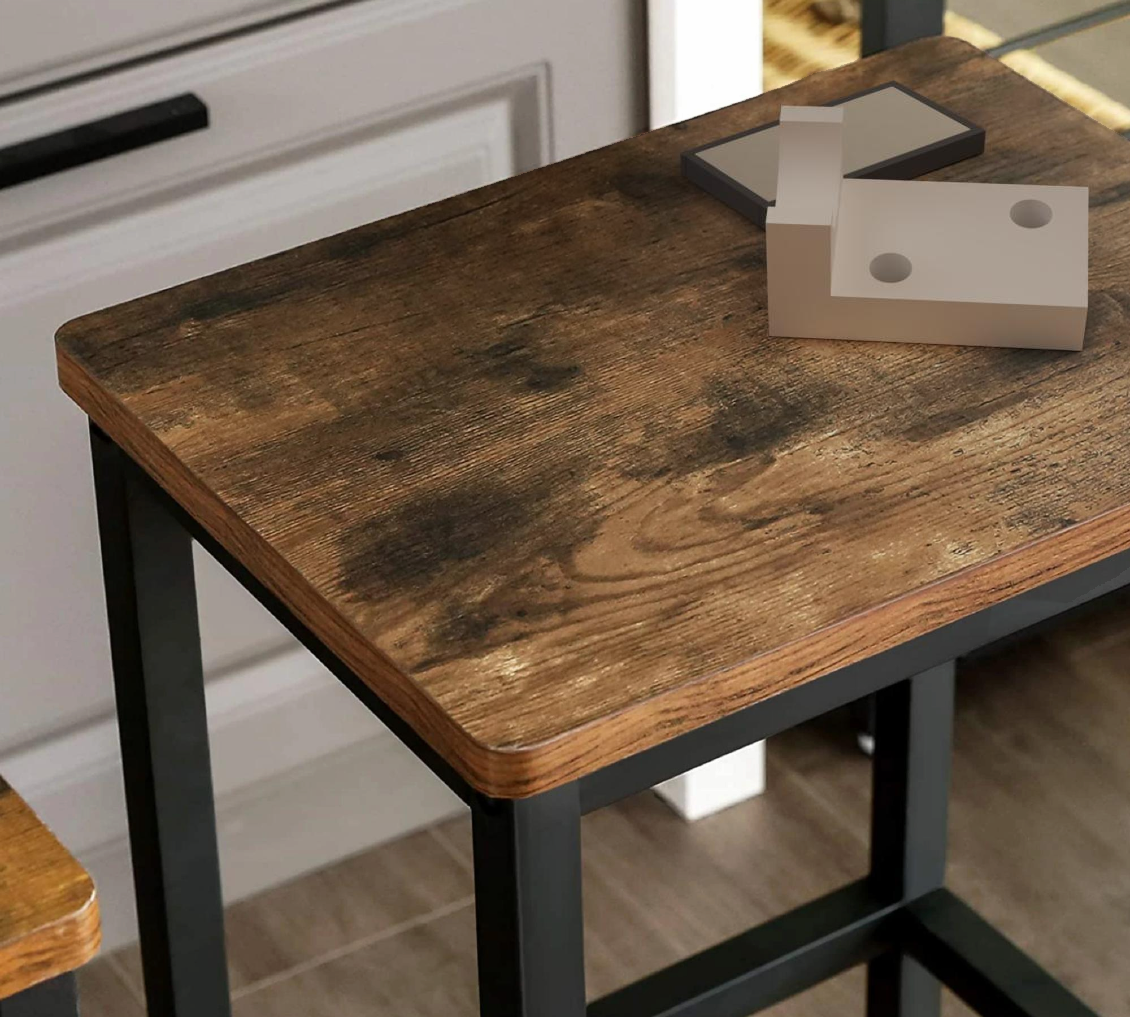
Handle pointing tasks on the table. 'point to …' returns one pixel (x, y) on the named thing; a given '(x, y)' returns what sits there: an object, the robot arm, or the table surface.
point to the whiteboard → (870, 148)
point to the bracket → (919, 252)
